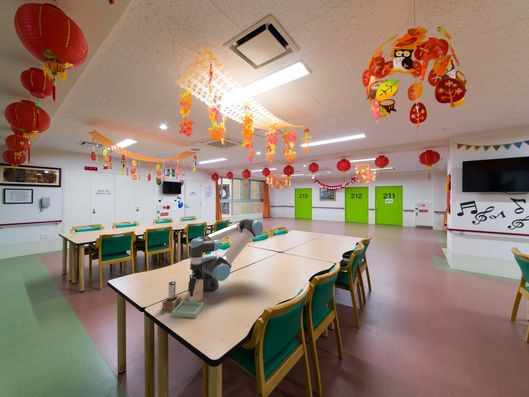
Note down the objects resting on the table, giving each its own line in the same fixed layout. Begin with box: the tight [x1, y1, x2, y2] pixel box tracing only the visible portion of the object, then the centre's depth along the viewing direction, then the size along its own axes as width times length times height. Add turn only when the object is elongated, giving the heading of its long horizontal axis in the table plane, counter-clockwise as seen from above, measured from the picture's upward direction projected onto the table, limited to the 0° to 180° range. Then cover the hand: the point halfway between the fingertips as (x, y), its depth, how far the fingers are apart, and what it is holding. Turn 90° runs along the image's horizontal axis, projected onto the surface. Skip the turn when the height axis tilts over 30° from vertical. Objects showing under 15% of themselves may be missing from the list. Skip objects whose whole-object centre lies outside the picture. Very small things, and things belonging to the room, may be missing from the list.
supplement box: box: [187, 279, 204, 302], centre depth 132 cm, size 8×5×13 cm, turn 141°
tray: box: [171, 300, 205, 319], centre depth 120 cm, size 12×14×2 cm
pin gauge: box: [167, 280, 177, 301], centre depth 124 cm, size 4×4×15 cm
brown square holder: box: [162, 295, 182, 312], centre depth 124 cm, size 8×8×5 cm
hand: (195, 297), depth 132 cm, fingers closed on supplement box, 9 cm apart
